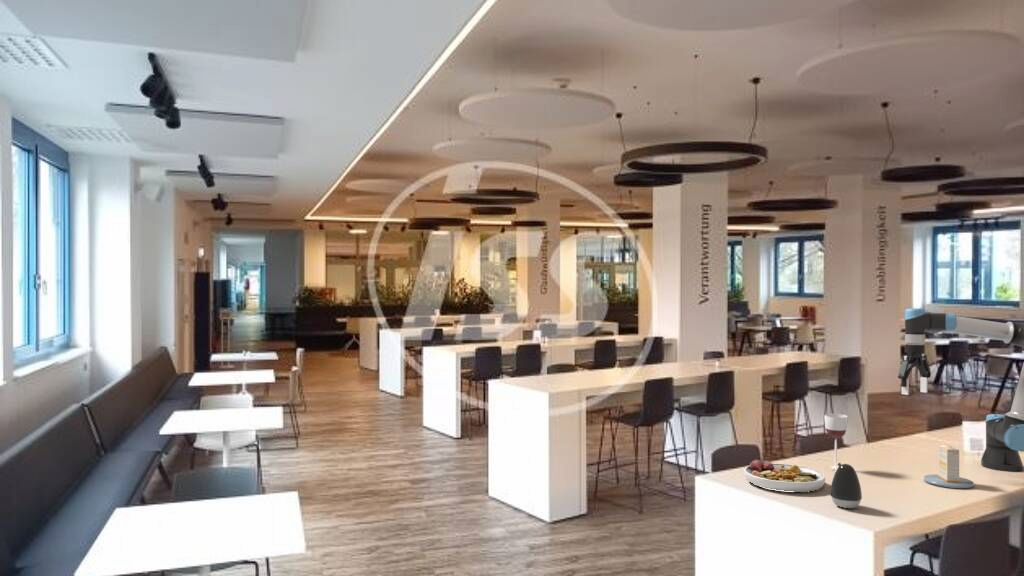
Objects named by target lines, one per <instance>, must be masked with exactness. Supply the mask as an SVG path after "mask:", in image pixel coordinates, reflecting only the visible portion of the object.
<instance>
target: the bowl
mask: <svg viewBox="0 0 1024 576" xmlns="http://www.w3.org/2000/svg"><path fill="white" fill-rule="evenodd" d="M743 473H744V477H745V479H746V480H747V481H748V483H750V482H751V483H753V484H755V485H758V486H762V487H765V488H770V489H776V490H784V491H794V492H808V491H813V492H816V491H818V490H820V489H821V488H822V487H823V486H824V485H825V483H826V476H825V474H824V473H822V472H820V471H818V470H816V469H813V468H809V467H805V466H801V465H800V466H799V465H797V464H786V463H772V462H771V461H769V460H763V461H761V460H760V459H754V460H752V461H750V463H749V465H747V466H745V468H744V470H743ZM751 483H750V484H751ZM753 484H752V485H753ZM815 490H816V491H815ZM808 493H809V492H808Z"/></svg>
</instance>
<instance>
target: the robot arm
mask: <svg viewBox="0 0 1024 576" xmlns="http://www.w3.org/2000/svg"><path fill="white" fill-rule="evenodd" d="M926 331H935V332H936V331H938V332H939V331H940V332H946V333H953V334H958V335H966V336H971V337H980V338H986V339H991V340H999V341H1003V342H1004V343H1005V344H1010V345H1014V346H1018V347H1021V348H1022V350H1021V352H1022V354H1023V355H1024V322H1016V321H1015V322H1014V321H1007V322H998V321H993V320H992V321H991V320H986V319H985V320H984V319H979V318H972V317H964V316H957V315H955V313H952V312H951V313H949V312H931V311H926V309H924V308H919V307H918V308H916V307H915V308H914V307H913V308H912V307H911V308H910V307H908V308H906V309H905V313H904V343H905V345H904V353H906V354H907V355H903V356H902V360H901V364H900V368H899V371H898V375H897V378H898V379H899V380H901V384H900V385H901V395H905V396H909V395H910V393H909V392H910V388H909V386H910V382H909V381H910V379H908V378H909V376H910V374H911V372H912V370H913V368H915V367H916V369H917V370H918V371H919V375H920V377H919V378H920V380H919V381H920V384H919V386H920V387H919V391H920V393H926V394H927V393H928V388H929V387H928V384H929V383H928V380H929V379H930V378H931V376H932V372H931V369H930V365H929V362H928V357H927V356H928V355H927V354H925V353H926V347H925V345H924V344H926ZM928 378H929V379H928ZM1020 452H1021V453H1022V452H1024V362H1023V363H1022V368H1021V371H1020V375H1019V379H1018V383H1017V386H1016V390H1015V394H1014V396H1013V401H1012V404H1011V409H1010V411H1008V412H1006V413H1004V414H999V413H998V414H997V413H995V414H992V413H991V414H987V415H986V417H985V449H984V452H983V454H982V456H981V458H980V459H981V461H980V465H981V466H983V467H984V468H988V469H991V470H997V471H1004V470H1005V471H1007V472H1020V470H1021V471H1023V470H1024V464H1023V461H1022V459H1021V456H1020Z"/></svg>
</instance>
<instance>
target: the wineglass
mask: <svg viewBox="0 0 1024 576" xmlns="http://www.w3.org/2000/svg"><path fill="white" fill-rule="evenodd" d="M823 419H824V427H825V428H824V429H825V431H826V433H827V434H828V435H829V436H830V437H832V438H833V439H834V466H831V467H832V468H835V469H836V468H838V467H839V466H838V439H841V438H842V437H843V436H844V435H846V432H847V428H848V423H849V422H848V419H849V416H848V415H847V414H846V415H845V414H843V413H841V414H840V413H825V414H824V417H823Z"/></svg>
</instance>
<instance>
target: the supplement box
mask: <svg viewBox="0 0 1024 576" xmlns="http://www.w3.org/2000/svg"><path fill="white" fill-rule="evenodd" d="M938 475H939V478H941V479H943V480H945V481H946V482H958V483H959V477H960V450H959V449H958V448H956V447H955V446H952V445H944V444H943V445H942V444H941V445H938Z"/></svg>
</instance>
